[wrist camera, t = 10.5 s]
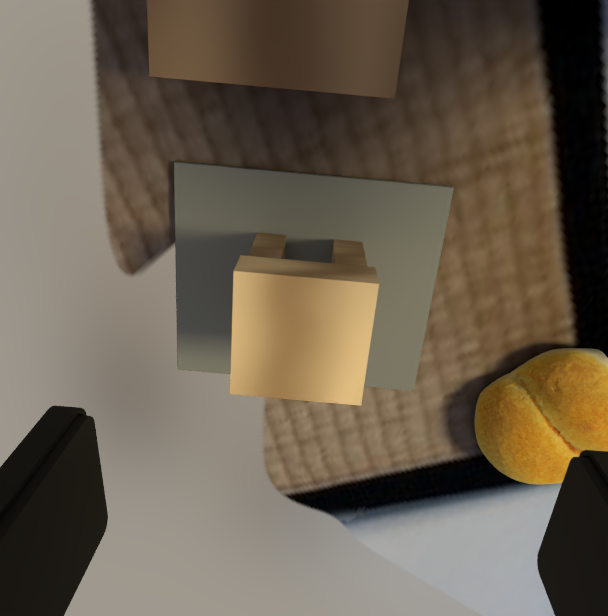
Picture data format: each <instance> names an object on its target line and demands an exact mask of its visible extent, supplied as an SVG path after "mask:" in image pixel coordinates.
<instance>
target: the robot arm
mask: <svg viewBox="0 0 608 616" xmlns="http://www.w3.org/2000/svg"><path fill="white" fill-rule="evenodd" d="M107 519H108V514H107V507H106V500H105V494H104V486H103V478H102V472H101V464H100V457H99V451H98V443H97V436H96V429H95V423H94V419H93V417H91V416H87V415H86V412H85V410H84V409H82V408H76V407H64V406H52V407H50V408H49V409H48V410H47V411H46V413H45V414H44V415H43V416H42V418H41V419H40V420H39V421H38V422H37V424H36V425H35V426H34V427H33V428H32V430H31V431H30V432H29V433H28V435H27V436H26V437H25V438H24V439H23V440H22V442H21V443H20V444H19V445H18V447H17V448H16V449H15V450H14V451H13V453H12V454H11V455H10V456H9V457H8V459H7V460H6V461H5V462H4V463H3V465H2V466H1V467H0V616H64V614H65V612H66V610H67V608H68V606H69V604H70V602H71V600H72V598H73V596H74V594H75V592H76V590H77V588H78V586H79V584H80V582H81V580H82V577H83V576H84V574H85V572H86V570H87V568H88V566H89V563H90V561H91V560H92V557H93V555H94V553H95V551H96V549H97V547H98V545H99V543H100V541H101V539H102V537H103V535H104V533H105V530H106V525H107ZM537 563H538V571H539V574H540V577H541V580H542V582H543V585H544V587H545V590H546V593H547V595H548V598H549V600H550V603H551V606H552V608H553V611H554V614H555V616H608V452H607V451H595V450H583V451H582V452H581V453H580V455H579V457H573V458H572V459H571V460H570V462H569V465H568V468H567V471H566V474H565V477H564V480H563V483H562V486H561V488H560V491H559V494H558V497H557V500H556V503H555V506H554V509H553V512H552V515H551V518H550V520H549V523H548V526H547V529H546V532H545V535H544V538H543V541H542V544H541V547H540V550H539V552H538V559H537Z"/></svg>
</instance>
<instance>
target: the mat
mask: <svg viewBox="0 0 608 616" xmlns="http://www.w3.org/2000/svg"><path fill="white" fill-rule="evenodd" d="M453 190H454V187H453V186H446V185H435V184H424V183H413V182H402V181H390V180H379V179H368V178H357V177H346V176H335V175H324V174H313V173H302V172H291V171H280V170H269V169H258V168H247V167H236V166H225V165H214V164H203V163H192V162H181V161H175V162H174V191H175V247H176V297H177V299H176V303H177V358H178V370H189V371H201V372H211V373H223V374H231V344H232V309H233V273H234V269H235V267H236V264H237V262H238V260H239V258H240V255H243V256H248V255H249V252H250V250H251V247H252V245H253V242H254V240H255V238H256V235H257V233H269V234H280V235H286V244H285V258H284V259H288V260H300V261H311V262H322V263H331V260H332V251H333V242H334V239H337V240H348V241H359V242H362V243H363V247H364V252H365V257H366V261H367V266H368V267H375V269H376V273H377V277H378V281H379V289H378V296H377V302H376V309H375V316H374V322H373V329H372V336H371V342H370V349H369V356H368V362H367V369H366V375H365V382H364V386H367V387H378V388H389V389H400V390H411V391H414V387H415V381H416V376H417V371H418V366H419V361H420V356H421V351H422V346H423V341H424V336H425V331H426V326H427V321H428V316H429V311H430V306H431V301H432V296H433V291H434V286H435V281H436V276H437V271H438V266H439V261H440V255H441V250H442V245H443V240H444V235H445V230H446V225H447V220H448V215H449V210H450V205H451V200H452V195H453Z"/></svg>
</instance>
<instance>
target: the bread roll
mask: <svg viewBox="0 0 608 616" xmlns="http://www.w3.org/2000/svg"><path fill="white" fill-rule="evenodd" d="M475 433H476V439H477V442H478V445H479V447H480V449H481V451H482V452H483V454H484V455H485V457H486V458H487V459H488V460H489V461H490V463H491V464H492V465H493V466H494V467H495V468H497V469H498V470H499V471H500V472H502V473H503V474H505V475H506V476H508V477H510V478H512V479H514V480H517V481H520V482H524V483H528V484H555V483H562V482H563V480H564V477H565V474H566V471H567V468H568V465H569V462H570V460H571V459H572V458H573V457H579V455H580V453H581V452H582V451H583V450H595V451H607V452H608V358H607V357H606V356H605V355H604V354H603V352H602V351H599V350H597V349H588V348H563V349H554V350H550V351H547V352H544V353H542V354H540V355H538V356H536V357H534V358H532V359H530V360H528V361H527V362H525V363H524V364H522V365H521V366H519V367H517V368H516V369H515V370H513V371H512V372H511V373H508V374H506V375H504V376H502V377H500V378H498V379H497V380H496V381H494V382H493V383H491V384H490V385H489V386H487V387H486V388H485V389H484V390H483V391H482V392H481V393H480V395H479V398H478V401H477V405H476V411H475Z"/></svg>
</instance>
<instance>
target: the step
mask: <svg viewBox="0 0 608 616" xmlns="http://www.w3.org/2000/svg"><path fill="white" fill-rule="evenodd" d="M408 3H409V0H147V22H148V51H149V76H150V77H161V78H172V79H183V80H195V81H206V82H217V83H228V84H239V85H250V86H261V87H272V88H283V89H294V90H305V91H316V92H327V93H338V94H349V95H360V96H371V97H382V98H393V99H395V94H396V87H397V80H398V73H399V66H400V59H401V52H402V45H403V38H404V31H405V24H406V17H407V10H408Z"/></svg>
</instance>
